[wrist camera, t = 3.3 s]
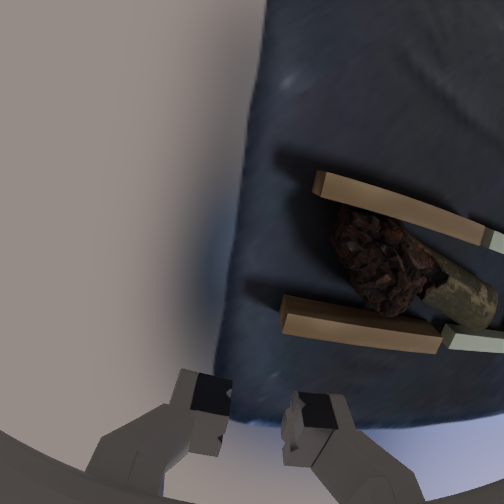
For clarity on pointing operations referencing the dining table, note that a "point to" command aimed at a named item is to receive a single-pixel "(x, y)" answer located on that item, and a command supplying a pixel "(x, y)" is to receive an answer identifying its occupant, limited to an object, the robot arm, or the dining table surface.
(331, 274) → the dining table surface
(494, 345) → the frame
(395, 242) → the dark piece
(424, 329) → the oak channel
